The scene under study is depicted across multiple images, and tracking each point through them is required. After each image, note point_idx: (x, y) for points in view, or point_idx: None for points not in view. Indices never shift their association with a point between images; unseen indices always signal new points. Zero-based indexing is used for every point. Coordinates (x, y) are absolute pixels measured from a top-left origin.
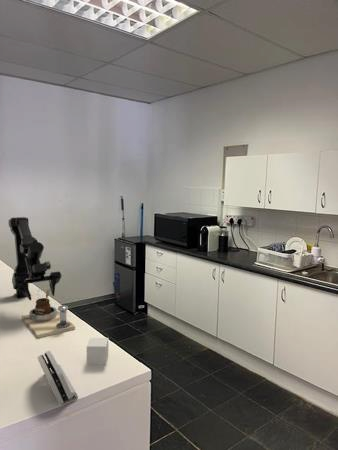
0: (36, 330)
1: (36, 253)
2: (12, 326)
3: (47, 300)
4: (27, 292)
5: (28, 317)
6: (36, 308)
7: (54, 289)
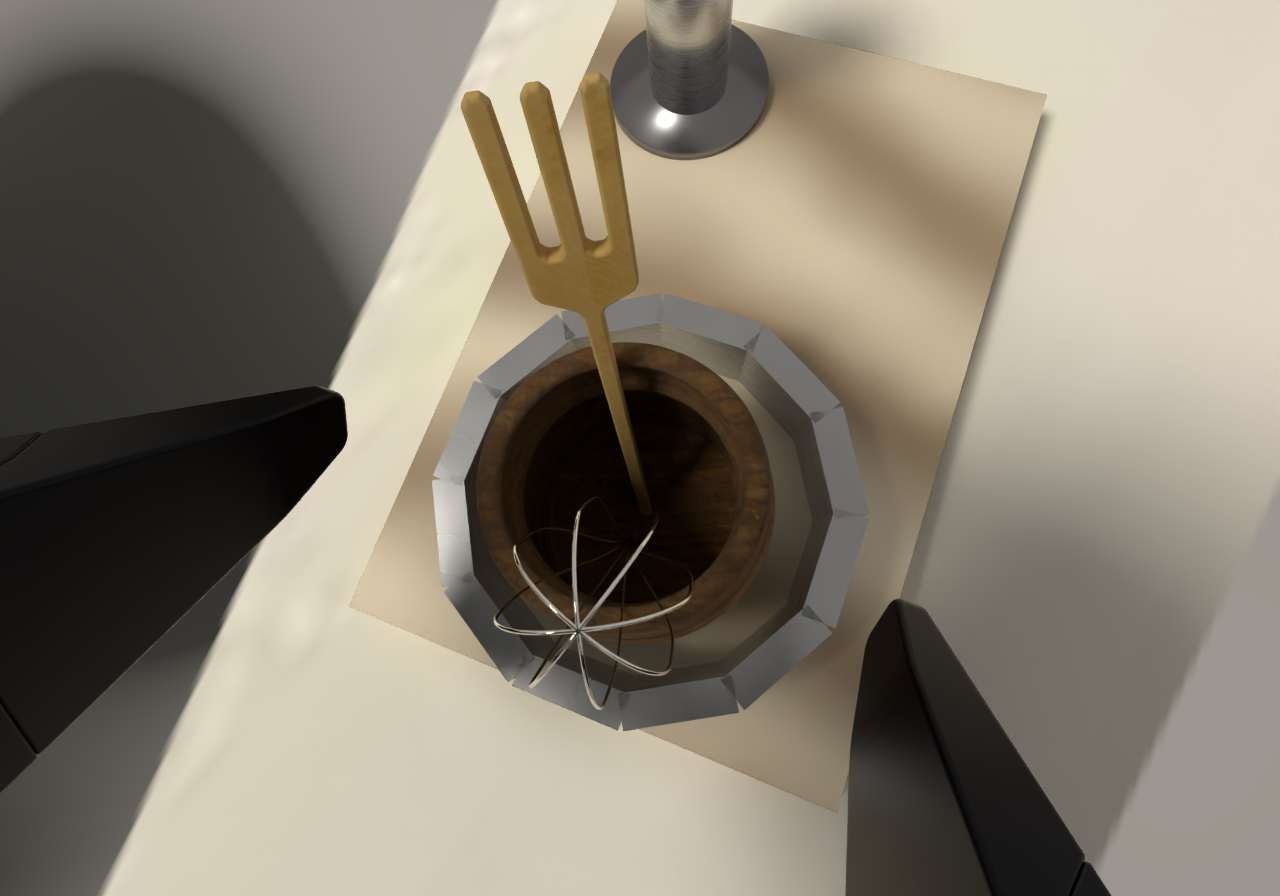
0: (986, 203)
1: None
2: (1066, 656)
3: (502, 483)
4: (1041, 813)
5: (803, 665)
6: (774, 508)
7: (152, 413)
